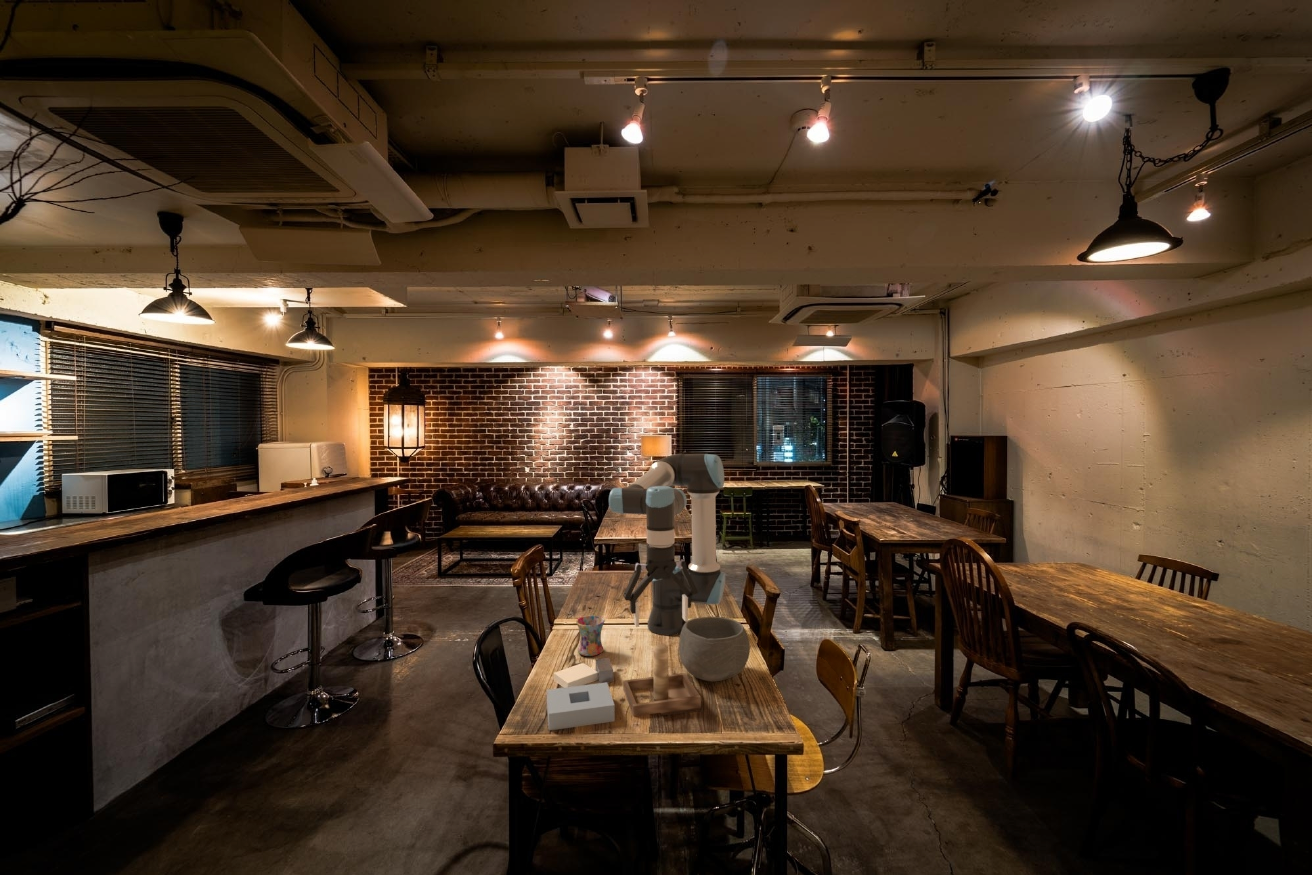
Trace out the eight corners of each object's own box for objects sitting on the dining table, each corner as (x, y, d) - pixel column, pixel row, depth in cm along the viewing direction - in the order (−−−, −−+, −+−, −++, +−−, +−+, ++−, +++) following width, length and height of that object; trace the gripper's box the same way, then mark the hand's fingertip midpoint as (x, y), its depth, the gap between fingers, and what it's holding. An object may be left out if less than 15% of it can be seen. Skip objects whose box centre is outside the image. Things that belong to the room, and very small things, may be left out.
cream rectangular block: (583, 674, 157) (583, 662, 157) (598, 684, 151) (598, 672, 151) (553, 684, 150) (553, 672, 150) (568, 695, 144) (568, 683, 144)
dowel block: (607, 700, 141) (607, 682, 141) (614, 724, 129) (614, 704, 129) (546, 708, 137) (546, 689, 137) (548, 734, 125) (548, 713, 125)
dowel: (666, 693, 143) (666, 643, 142) (670, 701, 139) (670, 649, 139) (652, 695, 142) (652, 644, 141) (655, 703, 138) (655, 650, 138)
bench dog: (608, 672, 157) (608, 657, 157) (613, 685, 149) (613, 669, 149) (595, 674, 156) (595, 659, 156) (599, 686, 148) (599, 671, 148)
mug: (600, 659, 166) (600, 626, 166) (572, 657, 168) (572, 624, 167) (609, 644, 178) (609, 613, 178) (583, 642, 179) (583, 611, 179)
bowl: (751, 664, 163) (751, 616, 162) (747, 697, 142) (748, 643, 142) (685, 657, 167) (684, 611, 167) (672, 689, 147) (672, 636, 147)
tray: (684, 684, 149) (684, 672, 149) (700, 710, 136) (700, 697, 136) (623, 692, 145) (623, 680, 145) (633, 719, 131) (633, 706, 131)
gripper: (699, 538, 146) (700, 612, 147) (612, 544, 140) (613, 621, 141) (709, 544, 139) (709, 622, 140) (617, 550, 133) (617, 632, 134)
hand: (661, 622), depth 140 cm, fingers open, 13 cm apart
